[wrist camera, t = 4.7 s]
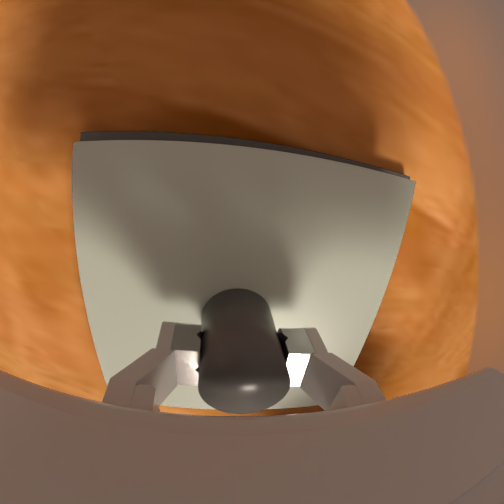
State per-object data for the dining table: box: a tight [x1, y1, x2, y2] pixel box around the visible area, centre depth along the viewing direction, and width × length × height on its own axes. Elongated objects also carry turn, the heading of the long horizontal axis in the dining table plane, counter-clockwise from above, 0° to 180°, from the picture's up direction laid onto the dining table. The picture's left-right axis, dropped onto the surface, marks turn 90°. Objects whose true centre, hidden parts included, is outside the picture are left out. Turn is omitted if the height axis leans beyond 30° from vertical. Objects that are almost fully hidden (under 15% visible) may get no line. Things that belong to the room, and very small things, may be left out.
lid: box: [72, 140, 416, 414], centre depth 10 cm, size 14×14×5 cm
